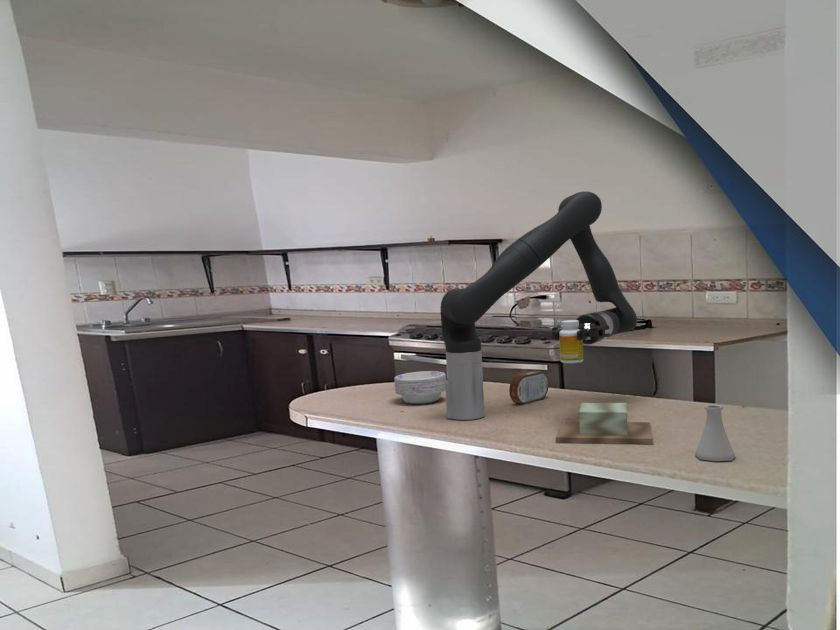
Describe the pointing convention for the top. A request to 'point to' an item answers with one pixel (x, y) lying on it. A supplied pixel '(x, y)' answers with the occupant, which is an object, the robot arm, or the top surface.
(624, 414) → the pedestal
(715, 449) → the flask
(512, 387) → the tin
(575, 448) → the top surface
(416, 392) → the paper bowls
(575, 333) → the supplement bottle
